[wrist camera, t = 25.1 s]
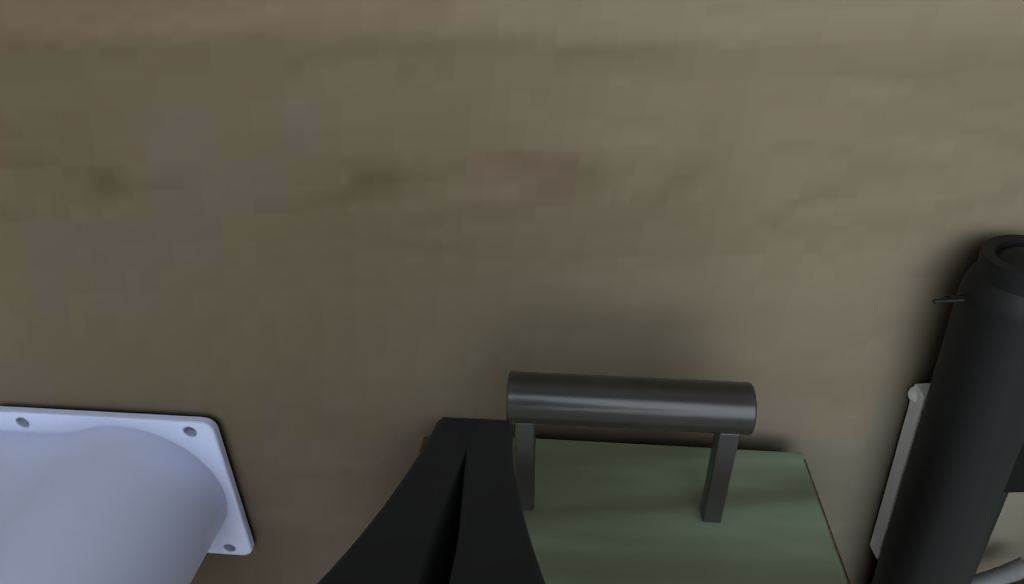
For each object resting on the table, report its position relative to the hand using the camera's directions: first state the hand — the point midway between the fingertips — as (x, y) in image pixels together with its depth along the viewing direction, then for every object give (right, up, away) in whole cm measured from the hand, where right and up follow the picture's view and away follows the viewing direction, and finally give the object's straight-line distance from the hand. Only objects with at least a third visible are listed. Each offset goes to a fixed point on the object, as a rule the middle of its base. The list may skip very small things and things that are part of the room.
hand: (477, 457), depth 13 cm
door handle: (+22, -3, +12) cm, 25 cm away
